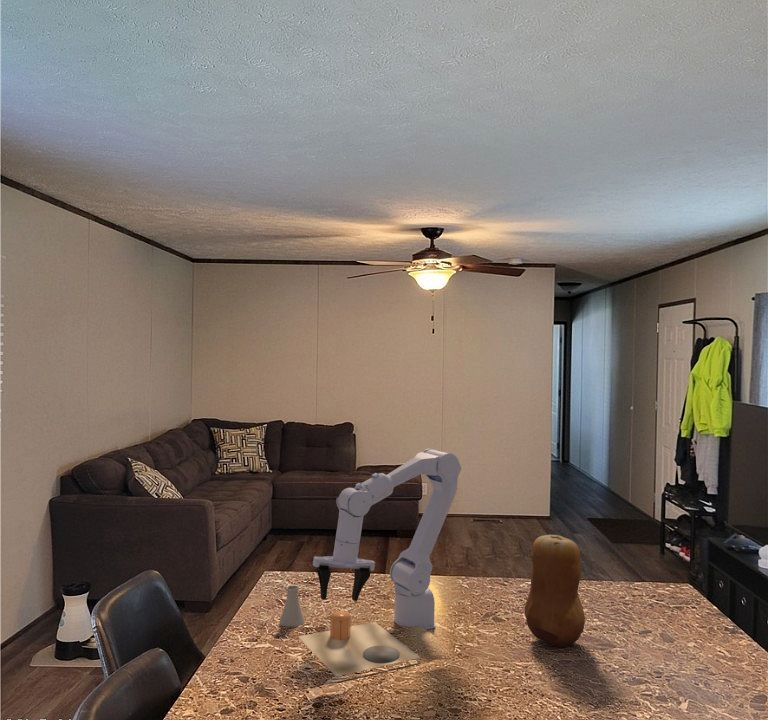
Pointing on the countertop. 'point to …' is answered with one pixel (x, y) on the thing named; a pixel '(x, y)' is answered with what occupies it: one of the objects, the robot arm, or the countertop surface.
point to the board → (359, 650)
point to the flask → (292, 609)
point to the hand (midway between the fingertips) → (338, 599)
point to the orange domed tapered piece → (340, 625)
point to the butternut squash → (555, 591)
